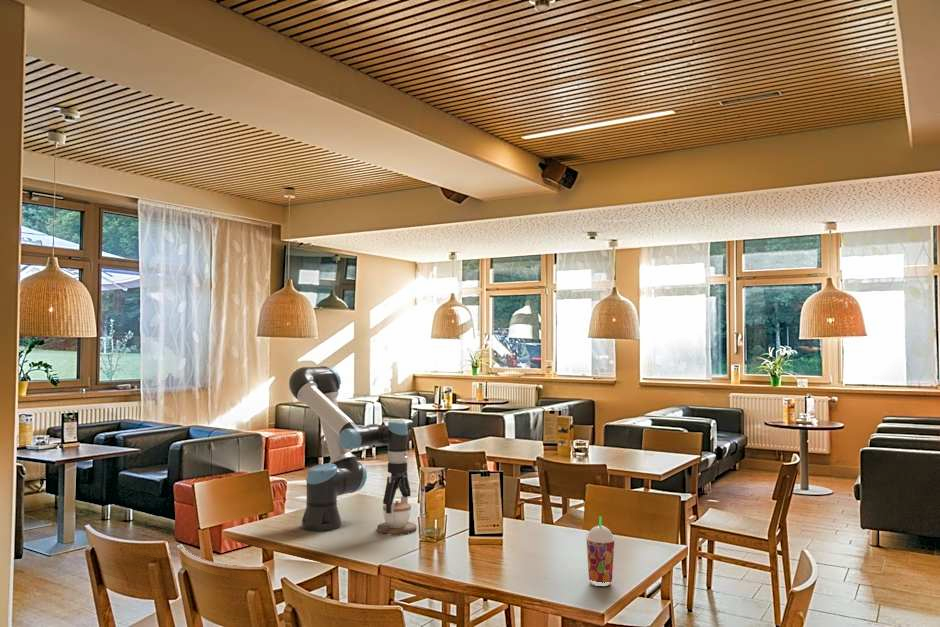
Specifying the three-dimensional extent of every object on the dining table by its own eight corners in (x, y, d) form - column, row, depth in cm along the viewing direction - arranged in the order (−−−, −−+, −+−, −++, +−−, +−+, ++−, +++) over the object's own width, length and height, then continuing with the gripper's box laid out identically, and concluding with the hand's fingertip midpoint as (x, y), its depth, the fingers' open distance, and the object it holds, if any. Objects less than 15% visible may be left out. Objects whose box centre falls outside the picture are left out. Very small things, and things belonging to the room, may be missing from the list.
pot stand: (370, 533, 271) (370, 529, 271) (387, 523, 285) (387, 519, 285) (407, 536, 266) (407, 532, 266) (422, 526, 281) (422, 523, 281)
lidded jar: (378, 528, 272) (378, 503, 273) (389, 521, 283) (389, 497, 283) (404, 530, 269) (404, 505, 270) (415, 523, 280) (415, 499, 280)
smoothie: (611, 579, 220) (611, 513, 220) (617, 588, 211) (617, 520, 212) (583, 579, 219) (583, 513, 220) (589, 589, 211) (589, 520, 212)
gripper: (392, 467, 264) (392, 526, 263) (419, 457, 288) (418, 511, 287) (374, 466, 266) (373, 524, 266) (401, 456, 290) (401, 509, 289)
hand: (397, 517), depth 276 cm, fingers open, 13 cm apart
